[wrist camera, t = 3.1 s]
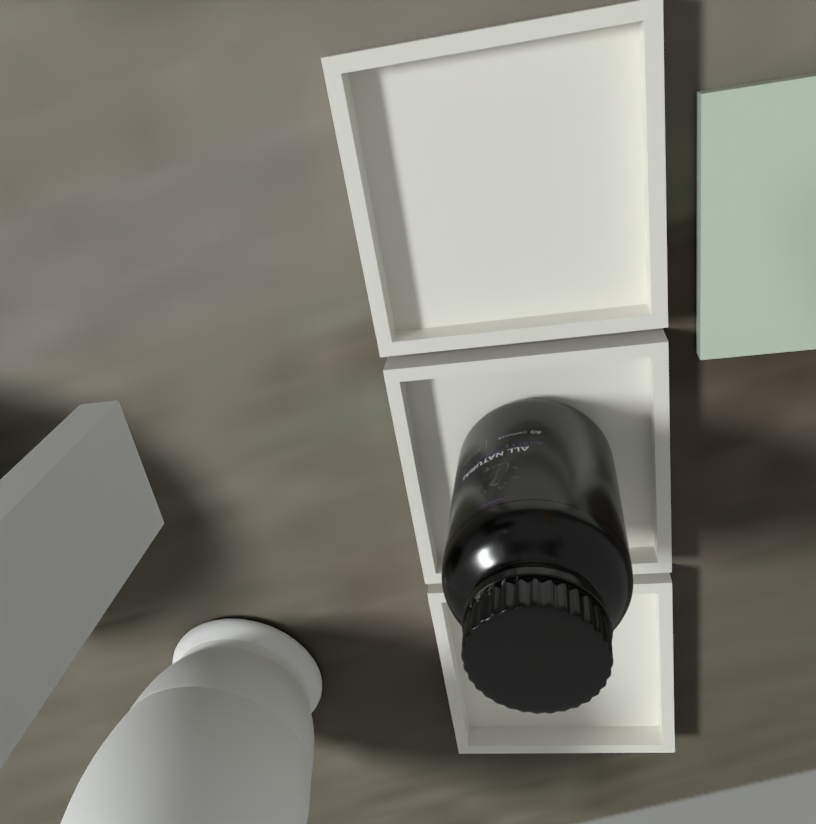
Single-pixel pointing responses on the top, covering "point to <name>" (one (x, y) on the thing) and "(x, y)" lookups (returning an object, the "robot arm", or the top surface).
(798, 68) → the top surface
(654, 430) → the tray middle
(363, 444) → the top surface
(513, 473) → the supplement bottle
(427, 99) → the tray
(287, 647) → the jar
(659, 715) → the tray
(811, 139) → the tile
